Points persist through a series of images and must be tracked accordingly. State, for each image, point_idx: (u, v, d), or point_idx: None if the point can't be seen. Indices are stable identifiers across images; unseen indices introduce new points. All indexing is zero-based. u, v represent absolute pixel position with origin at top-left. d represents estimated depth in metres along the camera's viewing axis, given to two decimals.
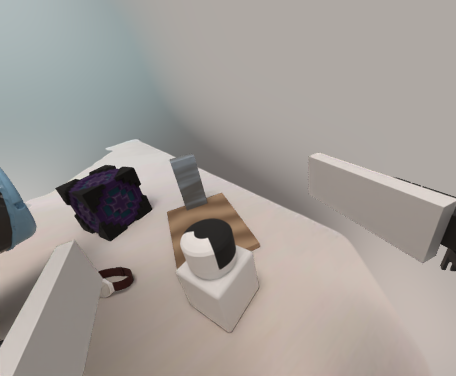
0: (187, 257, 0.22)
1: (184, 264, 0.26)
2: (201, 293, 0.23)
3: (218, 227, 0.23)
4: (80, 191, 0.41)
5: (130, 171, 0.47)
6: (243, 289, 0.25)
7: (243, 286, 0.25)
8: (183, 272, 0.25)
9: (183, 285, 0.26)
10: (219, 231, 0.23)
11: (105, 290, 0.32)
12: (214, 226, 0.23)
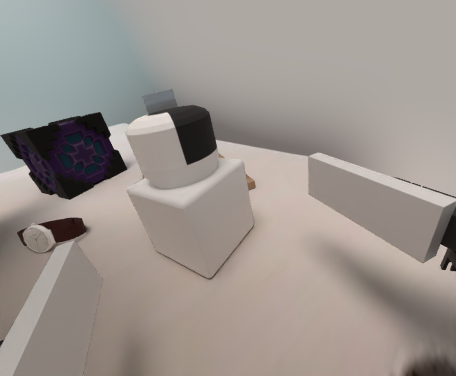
0: (133, 144, 0.13)
1: (140, 180, 0.17)
2: (161, 211, 0.15)
3: (187, 106, 0.15)
4: (25, 130, 0.32)
5: (96, 116, 0.38)
6: (230, 213, 0.17)
7: (229, 207, 0.16)
8: (136, 187, 0.16)
9: (140, 212, 0.17)
10: (187, 107, 0.14)
11: (42, 241, 0.23)
12: None
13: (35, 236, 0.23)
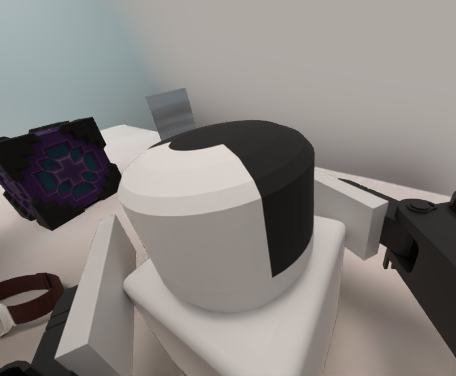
0: (138, 227, 0.05)
1: (150, 261, 0.09)
2: (198, 362, 0.06)
3: (257, 125, 0.07)
4: None
5: (87, 122, 0.30)
6: (326, 331, 0.08)
7: (326, 324, 0.08)
8: (143, 285, 0.08)
9: (148, 322, 0.09)
10: (265, 129, 0.06)
11: None
12: (242, 124, 0.07)
13: None
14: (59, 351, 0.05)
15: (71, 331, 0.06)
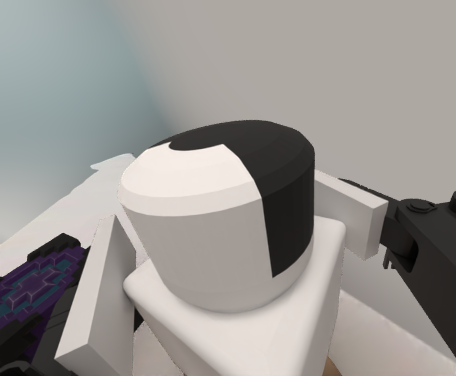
0: (138, 227, 0.05)
1: (149, 261, 0.09)
2: (198, 362, 0.06)
3: (257, 125, 0.07)
4: None
5: None
6: (326, 331, 0.08)
7: (326, 324, 0.08)
8: (143, 286, 0.08)
9: (148, 322, 0.09)
10: (265, 129, 0.06)
11: None
12: (242, 124, 0.07)
13: None
14: (59, 351, 0.05)
15: (71, 331, 0.06)
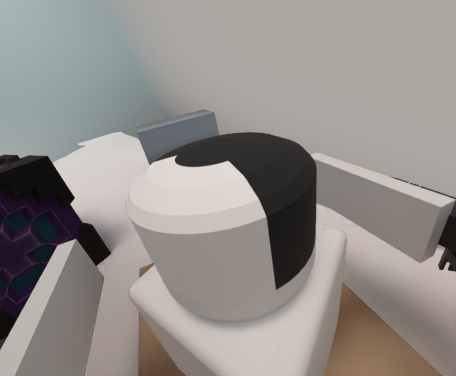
0: (146, 241, 0.05)
1: (154, 269, 0.09)
2: (203, 370, 0.07)
3: (261, 139, 0.07)
4: None
5: (36, 166, 0.17)
6: (327, 338, 0.09)
7: (328, 331, 0.08)
8: (148, 294, 0.08)
9: (152, 328, 0.09)
10: (269, 145, 0.06)
11: None
12: (246, 138, 0.07)
13: None
14: None
15: None
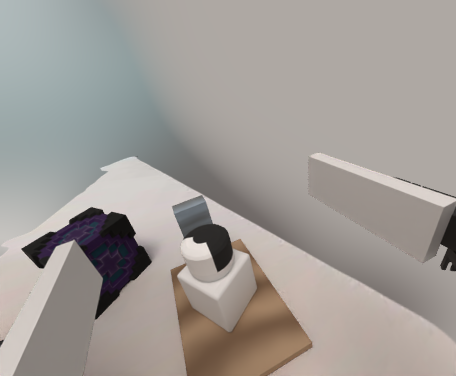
0: (187, 261, 0.23)
1: (185, 268, 0.27)
2: (201, 295, 0.25)
3: (215, 232, 0.25)
4: None
5: (121, 221, 0.36)
6: (242, 290, 0.27)
7: (241, 287, 0.26)
8: (184, 276, 0.26)
9: (184, 288, 0.27)
10: (216, 236, 0.24)
11: None
12: (212, 231, 0.25)
13: None
14: None
15: None
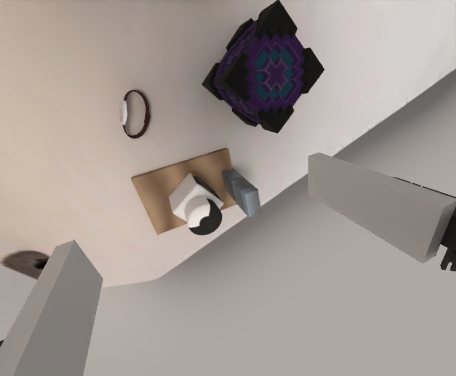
0: (192, 209, 0.34)
1: (201, 190, 0.37)
2: (181, 198, 0.38)
3: (207, 230, 0.35)
4: (237, 71, 0.28)
5: (272, 128, 0.34)
6: None
7: None
8: (195, 190, 0.37)
9: (192, 182, 0.38)
10: (203, 231, 0.35)
11: (121, 116, 0.34)
12: (209, 227, 0.35)
13: (122, 113, 0.33)
14: None
15: None
